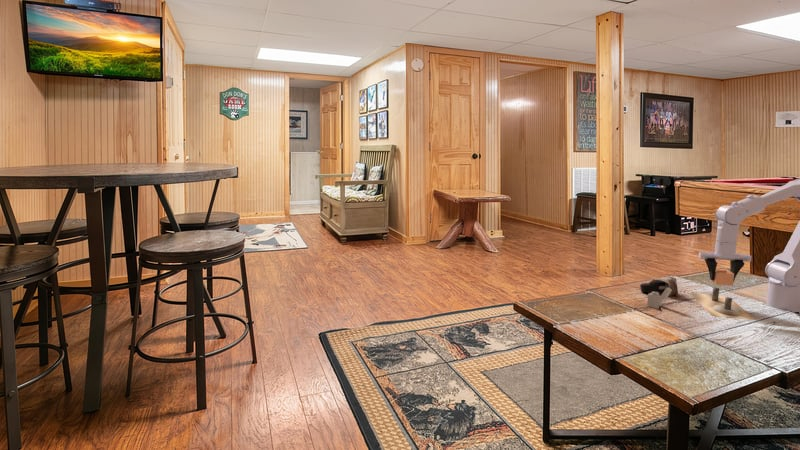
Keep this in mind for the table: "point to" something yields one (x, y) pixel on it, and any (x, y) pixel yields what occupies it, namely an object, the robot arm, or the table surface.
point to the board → (721, 305)
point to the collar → (723, 277)
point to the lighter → (657, 298)
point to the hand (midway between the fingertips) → (721, 280)
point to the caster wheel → (661, 286)
